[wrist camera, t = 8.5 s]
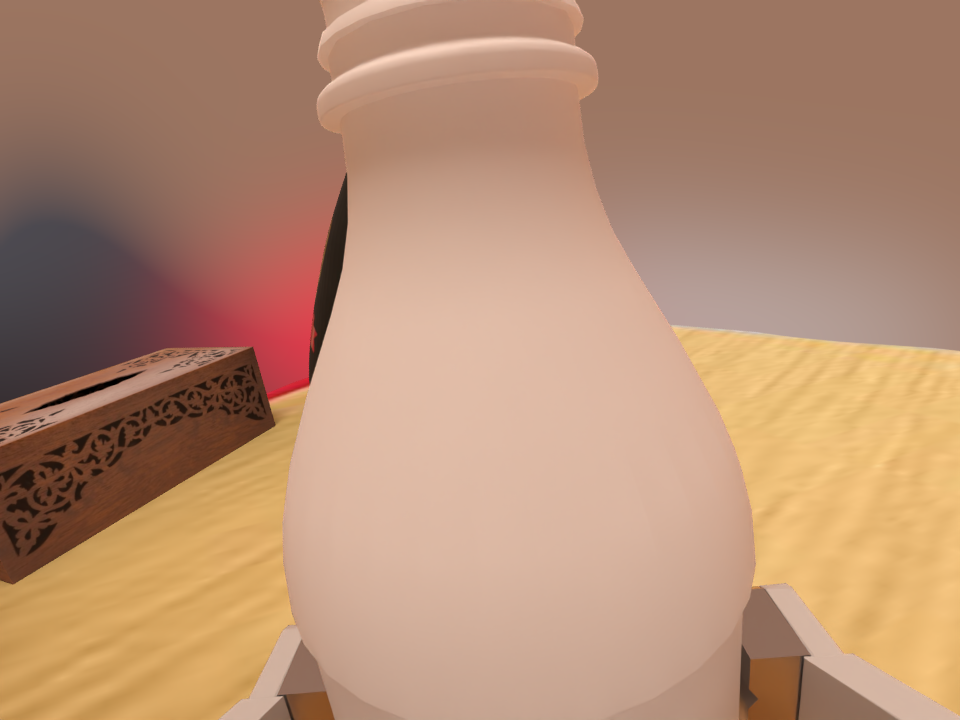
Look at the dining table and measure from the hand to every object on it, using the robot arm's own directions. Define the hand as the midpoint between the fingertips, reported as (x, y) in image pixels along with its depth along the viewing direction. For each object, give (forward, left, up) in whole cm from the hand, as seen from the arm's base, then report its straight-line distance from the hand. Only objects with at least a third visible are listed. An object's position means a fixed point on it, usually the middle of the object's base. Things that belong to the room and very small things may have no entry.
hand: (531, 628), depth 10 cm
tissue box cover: (-50, +17, -14) cm, 54 cm away
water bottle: (0, -1, -13) cm, 13 cm away
